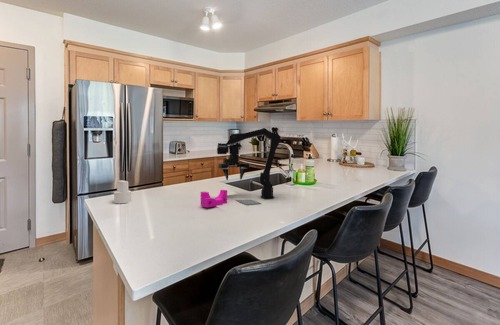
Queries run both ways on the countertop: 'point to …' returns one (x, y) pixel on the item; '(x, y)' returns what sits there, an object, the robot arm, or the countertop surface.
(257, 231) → the countertop surface
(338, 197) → the countertop surface
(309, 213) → the countertop surface
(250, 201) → the mat
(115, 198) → the cylinder with rectangular tab
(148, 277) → the countertop surface
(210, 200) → the magenta arched bracket
